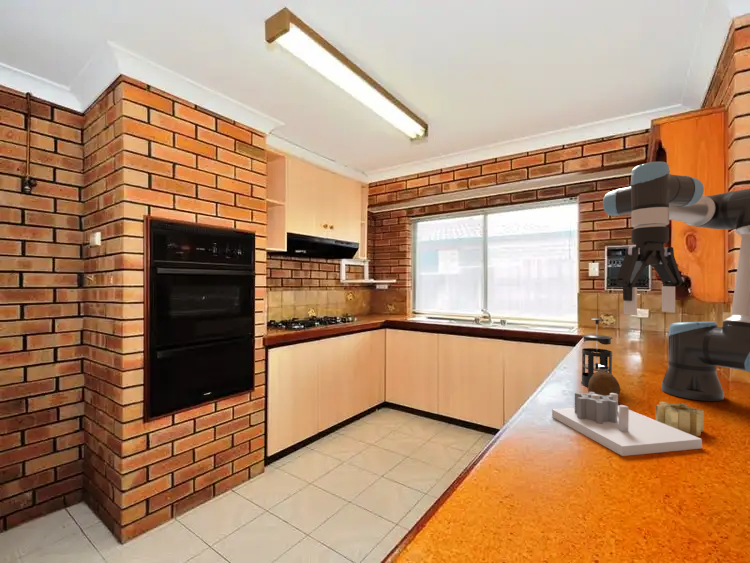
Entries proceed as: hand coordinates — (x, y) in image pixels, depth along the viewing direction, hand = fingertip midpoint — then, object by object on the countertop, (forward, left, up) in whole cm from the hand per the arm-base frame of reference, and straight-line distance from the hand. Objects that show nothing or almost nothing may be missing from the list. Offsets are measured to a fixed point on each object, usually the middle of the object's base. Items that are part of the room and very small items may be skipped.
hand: (649, 313), depth 92 cm
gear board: (+10, +1, -28) cm, 30 cm away
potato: (-5, -20, -28) cm, 35 cm away
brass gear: (-6, +2, -28) cm, 29 cm away
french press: (-15, -34, -28) cm, 47 cm away
